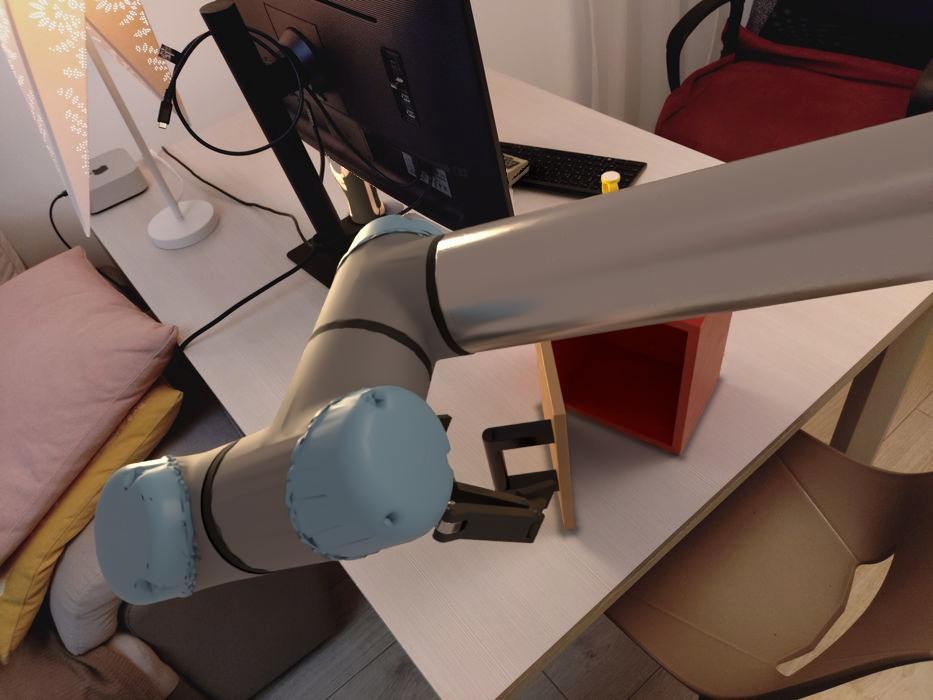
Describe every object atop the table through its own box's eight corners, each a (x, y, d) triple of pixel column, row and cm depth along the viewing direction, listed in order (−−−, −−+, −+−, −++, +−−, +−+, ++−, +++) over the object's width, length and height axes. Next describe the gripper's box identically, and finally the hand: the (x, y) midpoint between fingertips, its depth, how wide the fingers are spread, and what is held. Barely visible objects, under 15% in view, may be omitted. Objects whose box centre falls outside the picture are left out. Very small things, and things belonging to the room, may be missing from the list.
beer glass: (354, 230, 107) (326, 151, 96) (344, 210, 111) (316, 132, 100) (392, 216, 108) (368, 136, 97) (380, 197, 112) (356, 118, 101)
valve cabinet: (679, 455, 68) (700, 327, 54) (549, 402, 76) (536, 277, 61) (718, 379, 74) (746, 245, 60) (594, 337, 82) (592, 208, 67)
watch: (623, 218, 97) (624, 185, 93) (605, 221, 97) (606, 188, 93) (614, 197, 101) (615, 164, 97) (597, 200, 102) (597, 167, 97)
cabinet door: (503, 537, 65) (475, 426, 50) (490, 414, 76) (464, 294, 61) (574, 528, 64) (565, 413, 50) (550, 405, 75) (538, 282, 61)
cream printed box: (530, 170, 110) (529, 153, 108) (502, 194, 107) (500, 177, 104) (463, 150, 119) (460, 134, 116) (435, 172, 115) (431, 156, 113)
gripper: (228, 453, 52) (396, 433, 70) (444, 647, 39) (585, 562, 57) (253, 371, 51) (419, 372, 68) (487, 545, 38) (618, 490, 55)
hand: (494, 458), depth 63 cm, fingers open, 13 cm apart
